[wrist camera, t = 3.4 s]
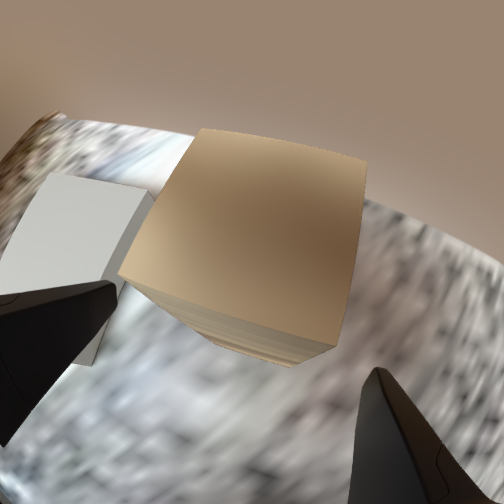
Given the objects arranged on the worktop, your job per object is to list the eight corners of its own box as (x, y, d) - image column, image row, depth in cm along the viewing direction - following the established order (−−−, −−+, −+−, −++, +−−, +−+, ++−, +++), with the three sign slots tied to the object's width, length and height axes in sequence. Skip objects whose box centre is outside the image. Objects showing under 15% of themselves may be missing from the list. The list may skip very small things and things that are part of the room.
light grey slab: (91, 366, 17) (67, 362, 14) (7, 300, 20) (-12, 290, 17) (160, 211, 22) (147, 189, 20) (64, 188, 25) (50, 172, 22)
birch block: (289, 367, 17) (336, 346, 5) (216, 344, 18) (117, 274, 6) (309, 297, 19) (367, 161, 7) (240, 277, 20) (201, 128, 8)
